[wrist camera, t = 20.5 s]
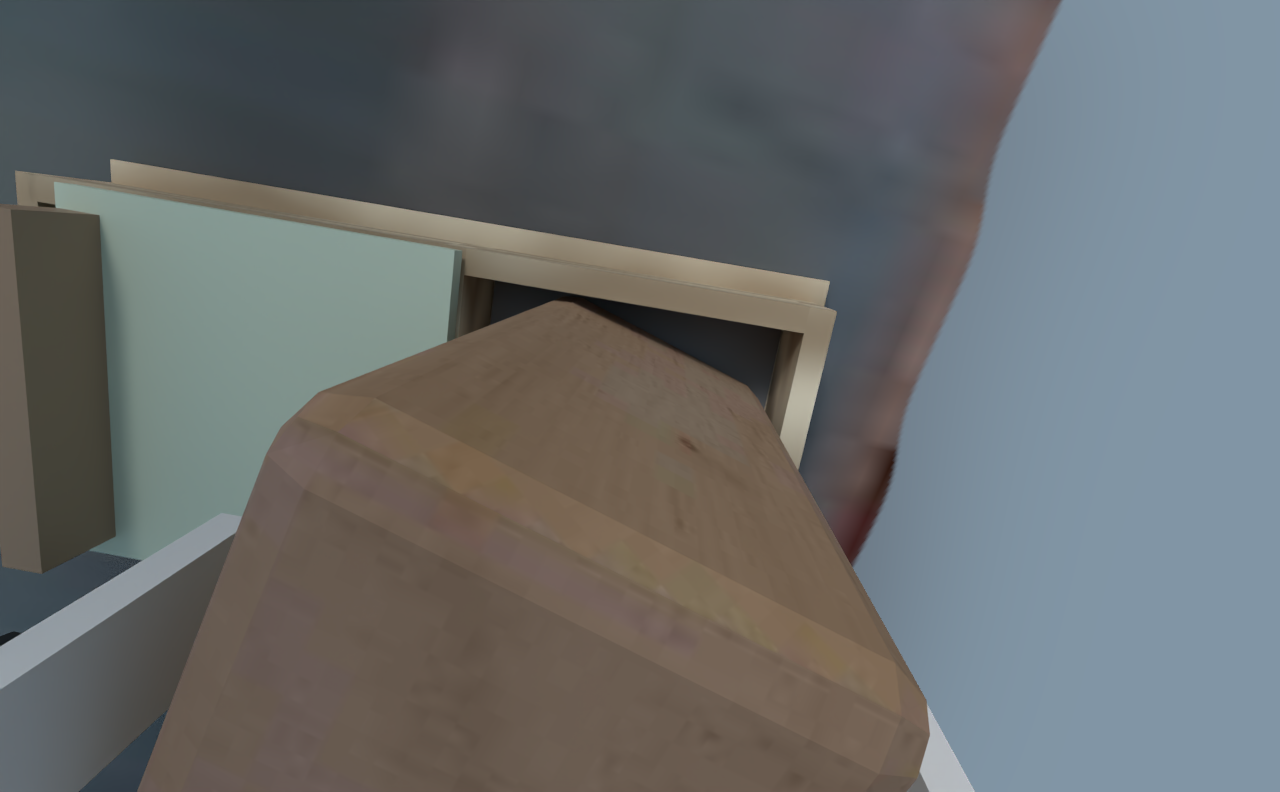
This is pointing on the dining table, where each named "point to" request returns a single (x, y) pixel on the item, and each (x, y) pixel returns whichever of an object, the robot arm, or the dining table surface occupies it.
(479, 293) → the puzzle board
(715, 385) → the wooden block
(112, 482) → the lid
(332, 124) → the dining table surface
